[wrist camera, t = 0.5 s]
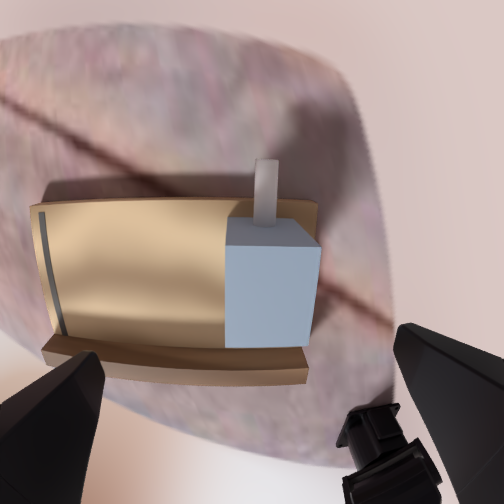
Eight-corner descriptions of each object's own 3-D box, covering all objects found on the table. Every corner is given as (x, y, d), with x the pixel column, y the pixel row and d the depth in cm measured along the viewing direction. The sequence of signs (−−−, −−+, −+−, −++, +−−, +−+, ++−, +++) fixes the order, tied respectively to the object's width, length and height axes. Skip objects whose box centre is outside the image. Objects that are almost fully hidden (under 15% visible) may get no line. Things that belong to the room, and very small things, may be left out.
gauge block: (287, 293, 19) (308, 346, 14) (226, 292, 19) (225, 347, 13) (296, 161, 17) (328, 163, 11) (228, 158, 16) (226, 157, 11)
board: (295, 351, 23) (305, 383, 19) (66, 338, 21) (46, 365, 17) (311, 200, 19) (331, 210, 15) (40, 202, 18) (8, 213, 14)
